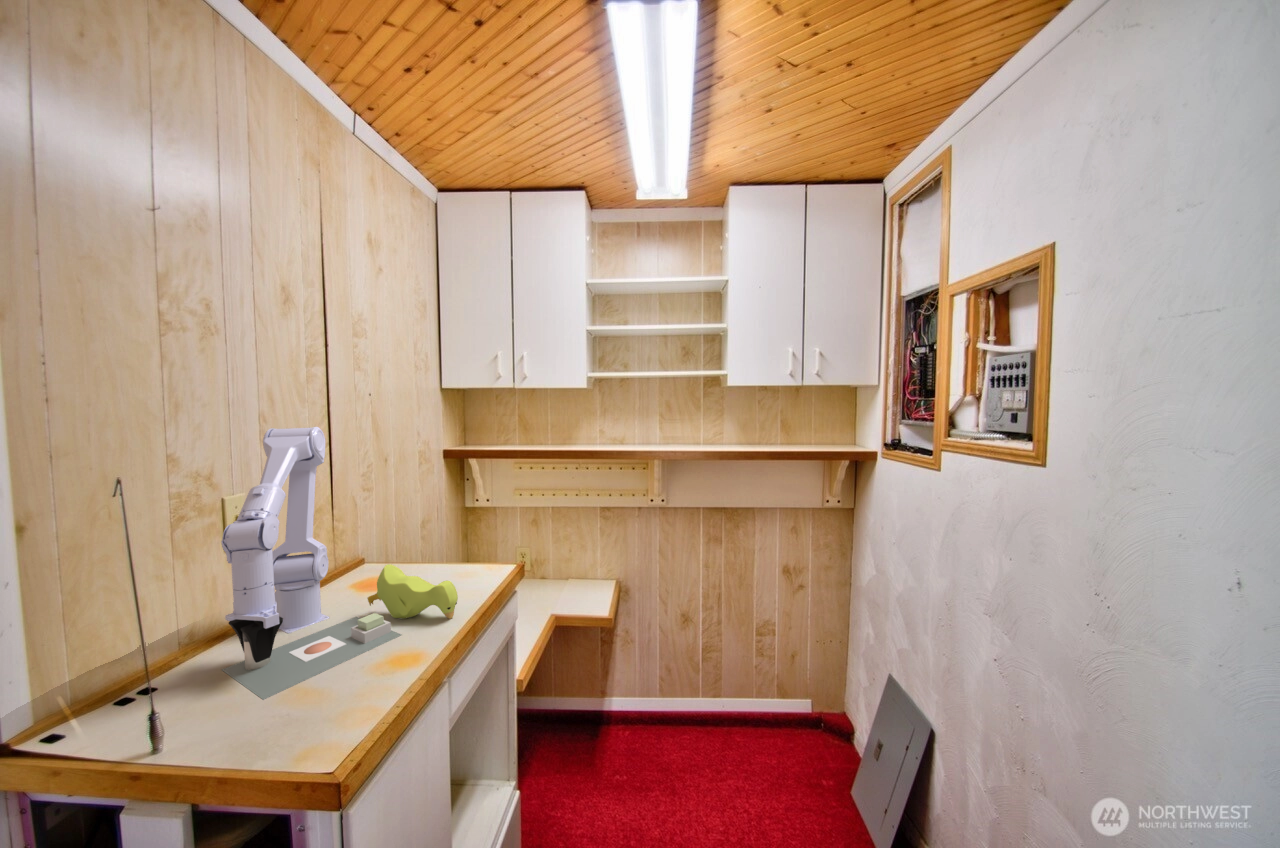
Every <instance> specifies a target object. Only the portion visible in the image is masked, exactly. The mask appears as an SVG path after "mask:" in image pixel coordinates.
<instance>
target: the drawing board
mask: <svg viewBox="0 0 1280 848" xmlns="http://www.w3.org/2000/svg"><path fill="white" fill-rule="evenodd" d="M361 618H362V617H361ZM361 618H360V617H359V616H355V617H351V618H349V619H346V620H344V621H342V622H339V623H336V624H334V625H331V626H328V627H326V628H324V629H321V630H319V631H316V632H313V633H310V634H309V635H306V636H303V637H301V638H297V639H295V640H293V641H290V642H288V643H285V644H283V645H281V646H278V647H275V648H272V653H271V662H270V663H268V664H267V665H265V666H263V667H260V668H257V669H253V670H247V669H245V660H242V661H240V662H237V663H235V664H233V665H230V666H227V667H225V668H222V669H221V672H224V673H225V674H226V675H228V676H229V677H231V678H232V679H233V680H234V681H237V682H238V684H241V685H242V686H243V687H245V688H246V689H247V690H249V691H250V692H251V693H253V694H254V695H256V696H257V697H258V698H260V699H262V700H263V701H264V700H267V699H269V698H271V697H273V696H275V695H277V694H279V693H281V692H284V691H285V690H287V689H289V688H292V687H294V686H296V685H298V684H300V683H302V682H305V681H307V680H310V679H312V678H313V677H316V676H317V675H320V674H322V673H324V672H326V671H328V670H330V669H333V668H335V667H337V666H339V665H342V664H343V663H345V662H347V661H350V660H352V659H354V658H356V657H358V656H360V655H362V654H365V653H367V652H369V651H371V650H373V649H375V648H377V647H379V646H382V645H384V644H387V643H388V642H391V641H392V640H395V639H398V638H399V637H400V636H403V633H399V632H397V631H394V630H392V623H391V621H388V620H385V619H384V624H383V625H380V626H378V627H376V628H373V629H371V630H369V631H363V630H361V629H358V619H361Z"/></svg>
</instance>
